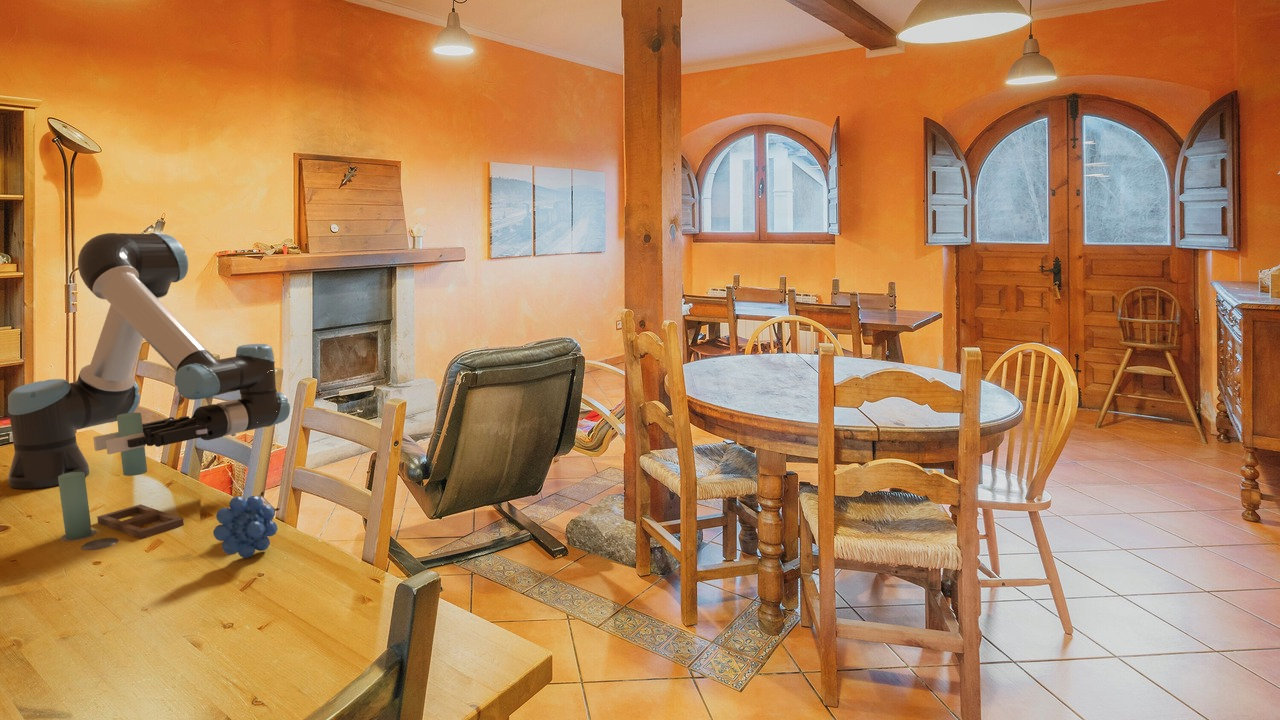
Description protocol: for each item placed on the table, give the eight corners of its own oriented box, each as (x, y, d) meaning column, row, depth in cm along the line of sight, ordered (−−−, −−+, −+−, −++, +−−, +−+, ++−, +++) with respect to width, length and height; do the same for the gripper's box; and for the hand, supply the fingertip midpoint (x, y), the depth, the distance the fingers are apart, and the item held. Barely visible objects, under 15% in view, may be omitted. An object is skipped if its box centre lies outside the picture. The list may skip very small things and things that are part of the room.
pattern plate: (51, 542, 141) (50, 536, 140) (98, 528, 147) (97, 522, 147) (93, 560, 133) (92, 554, 132) (140, 544, 139) (140, 538, 139)
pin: (67, 533, 142) (59, 473, 140) (93, 529, 144) (85, 470, 142) (64, 540, 138) (56, 479, 136) (90, 536, 140) (82, 476, 138)
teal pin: (124, 471, 149) (117, 413, 147) (147, 468, 151) (141, 411, 149) (122, 477, 146) (115, 418, 144) (146, 473, 148) (140, 415, 146)
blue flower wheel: (232, 575, 127) (225, 509, 125) (209, 566, 130) (203, 502, 128) (292, 550, 137) (287, 489, 135) (270, 543, 140) (265, 483, 138)
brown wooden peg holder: (98, 528, 147) (97, 516, 147) (141, 515, 154) (140, 504, 154) (140, 544, 139) (139, 532, 139) (184, 530, 146) (183, 518, 146)
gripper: (244, 441, 159) (127, 471, 139) (198, 431, 167) (81, 457, 147) (241, 408, 158) (122, 432, 138) (195, 399, 166) (76, 421, 146)
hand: (101, 445), depth 143 cm, fingers closed on teal pin, 4 cm apart
